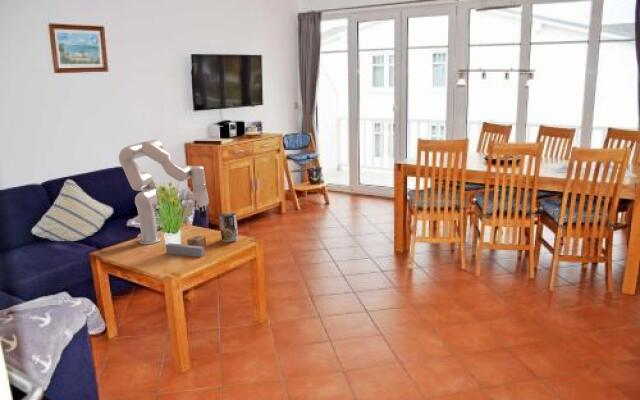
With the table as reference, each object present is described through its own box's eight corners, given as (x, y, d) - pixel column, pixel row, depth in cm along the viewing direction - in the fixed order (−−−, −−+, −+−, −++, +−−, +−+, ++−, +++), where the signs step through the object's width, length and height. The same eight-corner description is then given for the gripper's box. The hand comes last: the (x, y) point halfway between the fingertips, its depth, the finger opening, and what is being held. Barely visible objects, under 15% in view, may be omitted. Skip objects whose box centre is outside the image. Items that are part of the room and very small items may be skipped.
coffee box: (238, 238, 330) (236, 212, 326) (236, 241, 323) (233, 215, 319) (224, 238, 331) (221, 213, 327) (221, 241, 324) (218, 216, 320)
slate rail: (166, 253, 310) (165, 244, 308) (169, 251, 312) (168, 243, 311) (201, 257, 300) (200, 248, 299) (204, 255, 303) (203, 246, 302)
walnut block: (188, 249, 315) (186, 239, 314) (195, 245, 321) (194, 235, 320) (199, 250, 312) (198, 240, 310) (206, 246, 318) (205, 236, 317)
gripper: (201, 184, 324) (205, 213, 328) (186, 190, 310) (190, 220, 315) (212, 184, 321) (215, 214, 325) (197, 190, 307) (201, 221, 312)
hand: (203, 217), depth 320 cm, fingers closed
